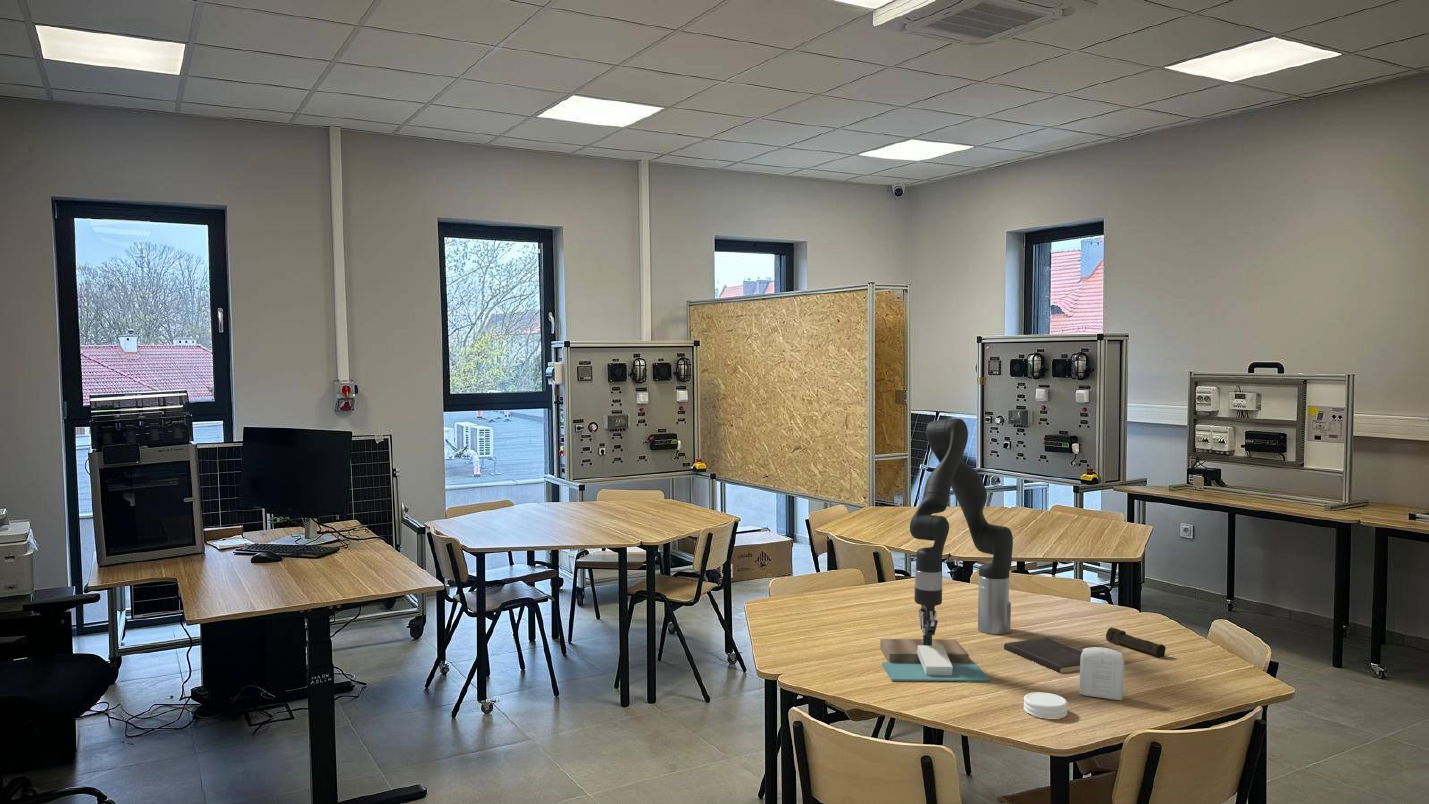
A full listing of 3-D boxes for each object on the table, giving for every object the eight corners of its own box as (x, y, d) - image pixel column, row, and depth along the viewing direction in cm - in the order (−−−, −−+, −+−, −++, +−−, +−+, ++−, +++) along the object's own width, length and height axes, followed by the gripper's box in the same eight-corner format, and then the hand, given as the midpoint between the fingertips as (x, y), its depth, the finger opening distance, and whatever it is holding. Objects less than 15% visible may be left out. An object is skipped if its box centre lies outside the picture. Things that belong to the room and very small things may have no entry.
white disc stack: (1066, 723, 218) (1067, 708, 218) (1022, 717, 222) (1022, 702, 222) (1067, 709, 227) (1068, 694, 227) (1024, 703, 231) (1025, 689, 231)
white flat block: (942, 653, 260) (942, 645, 259) (951, 675, 249) (952, 666, 248) (917, 653, 260) (917, 645, 259) (925, 675, 249) (926, 666, 248)
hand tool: (1166, 657, 268) (1167, 641, 268) (1156, 659, 266) (1157, 643, 266) (1112, 640, 285) (1113, 625, 285) (1103, 641, 283) (1103, 626, 283)
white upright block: (1122, 696, 236) (1124, 648, 235) (1123, 702, 232) (1124, 652, 231) (1079, 690, 240) (1080, 643, 239) (1079, 696, 236) (1080, 648, 235)
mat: (975, 665, 260) (975, 662, 260) (990, 682, 246) (990, 679, 246) (882, 664, 260) (882, 662, 260) (891, 681, 246) (891, 679, 246)
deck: (955, 649, 274) (955, 639, 274) (968, 664, 260) (968, 654, 260) (880, 649, 274) (880, 638, 273) (889, 664, 260) (889, 653, 260)
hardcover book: (1046, 645, 280) (1047, 637, 280) (1105, 668, 259) (1105, 660, 259) (1003, 650, 274) (1003, 643, 274) (1059, 675, 253) (1059, 667, 253)
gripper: (947, 592, 253) (946, 655, 254) (936, 580, 266) (935, 640, 267) (920, 591, 253) (918, 655, 254) (910, 580, 266) (909, 640, 267)
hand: (927, 647), depth 261 cm, fingers closed
